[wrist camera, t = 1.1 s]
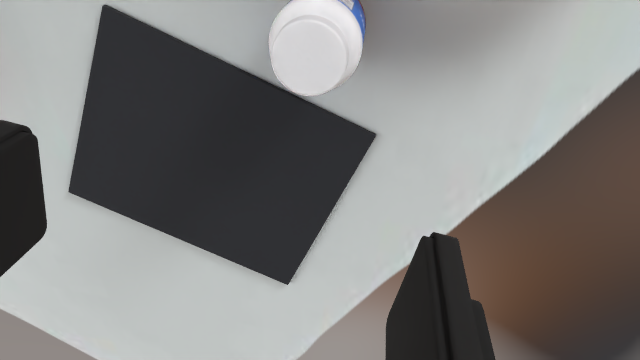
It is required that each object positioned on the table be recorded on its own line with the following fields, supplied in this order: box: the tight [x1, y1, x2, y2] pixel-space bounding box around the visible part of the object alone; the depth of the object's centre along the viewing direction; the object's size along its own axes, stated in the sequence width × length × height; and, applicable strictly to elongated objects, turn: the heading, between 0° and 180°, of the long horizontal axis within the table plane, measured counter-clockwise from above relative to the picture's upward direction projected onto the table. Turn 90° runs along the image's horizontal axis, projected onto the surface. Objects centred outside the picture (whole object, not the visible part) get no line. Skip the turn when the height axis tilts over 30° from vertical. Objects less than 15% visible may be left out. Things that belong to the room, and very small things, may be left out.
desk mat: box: [69, 5, 376, 285], centre depth 39 cm, size 22×18×1 cm
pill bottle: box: [269, 0, 366, 96], centre depth 28 cm, size 6×5×10 cm
